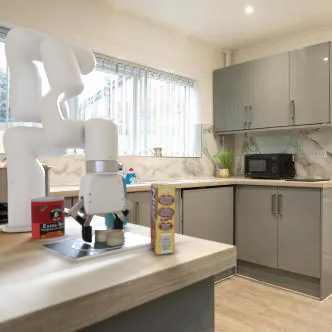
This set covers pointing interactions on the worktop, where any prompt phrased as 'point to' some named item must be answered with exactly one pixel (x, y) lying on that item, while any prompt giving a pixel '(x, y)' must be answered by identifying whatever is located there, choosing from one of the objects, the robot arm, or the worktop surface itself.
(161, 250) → the candy box
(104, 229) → the puck eye
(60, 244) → the chalkboard
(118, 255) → the worktop surface
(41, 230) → the canned food
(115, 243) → the puck eye
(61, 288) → the worktop surface
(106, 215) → the beverage bottle
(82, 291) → the worktop surface
